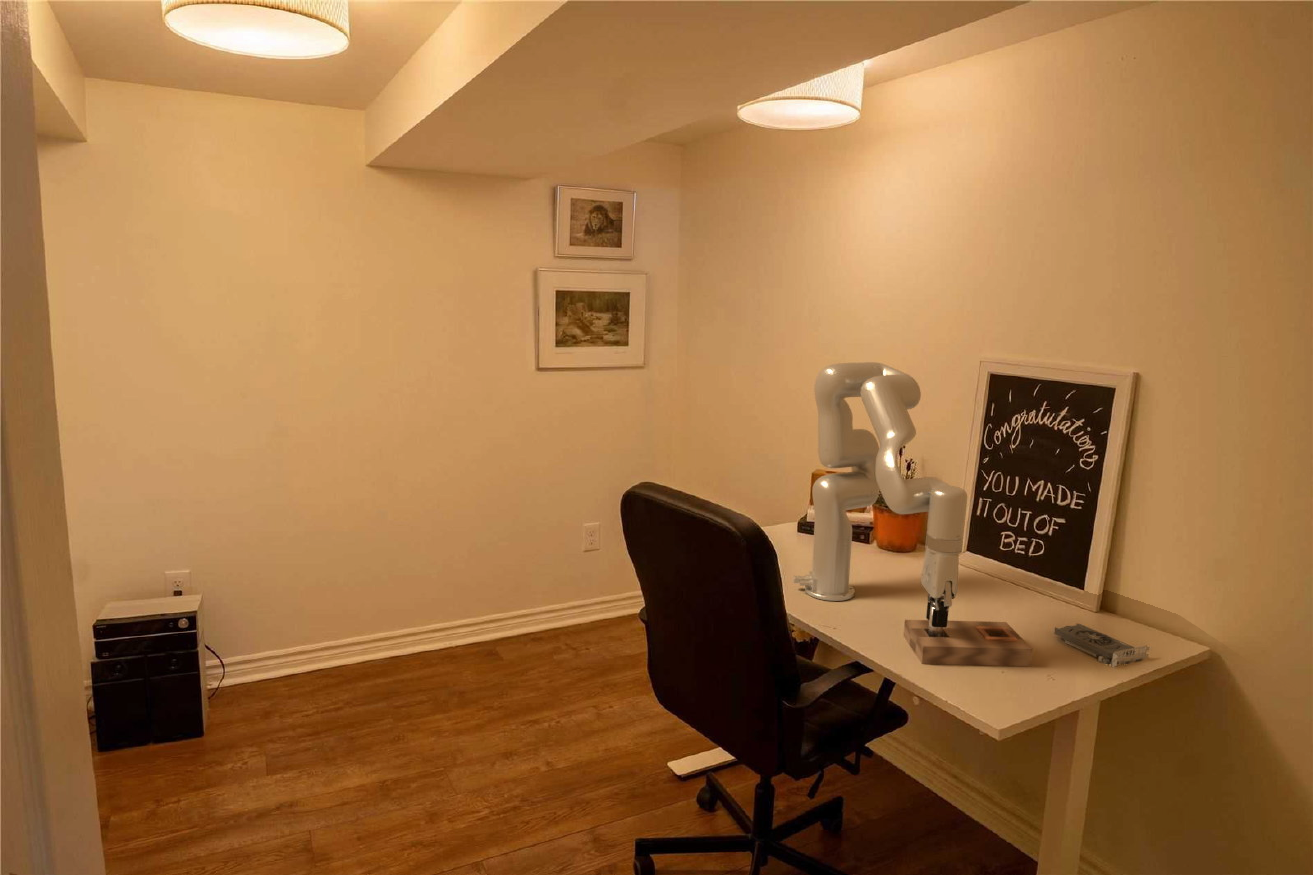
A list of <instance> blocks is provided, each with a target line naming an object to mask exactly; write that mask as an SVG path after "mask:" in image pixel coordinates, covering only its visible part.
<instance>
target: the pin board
mask: <svg viewBox="0 0 1313 875" xmlns="http://www.w3.org/2000/svg"><path fill="white" fill-rule="evenodd" d="M903 627H904V628H903V637H904V639H905V640H906V642H907V643H908V645H909V647H910V648H911V650H912V651H913V653H914V654H915V655H916V658H917V659H918V660H919V661H920V663H921V665H949V666H951V665H952V666H953V665H956V666H960V665H961V666H989V667H992V666H993V667H995V666H996V667H998V666H1002V667H1029V668H1031V666H1032V659H1033V658H1032V657H1033V648H1032V647H1031V646H1030V645H1029V643H1027V642H1026V640H1024V638H1022V636H1020V634H1019V633H1018V632H1017V631H1016V630H1015V629H1013V627H1012V626H1011V625H1009V623H1008V622H1007V621H985V620H984V621H982V620H980V621H979V620H978V621H977V620H976V621H975V620H948V621H947V627H943V635H942V637H929V635H928V629H929V620H927V619H904V626H903Z"/></svg>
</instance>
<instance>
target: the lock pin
mask: <svg viewBox="0 0 1313 875" xmlns="http://www.w3.org/2000/svg"><path fill="white" fill-rule="evenodd" d="M941 601H943V600H939V603H940V602H941ZM933 609H935V599H933V600H931V608H930V619H929V629H928V635H929V637H942V635H943V627H933V626H932V614H933Z"/></svg>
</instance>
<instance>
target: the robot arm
mask: <svg viewBox="0 0 1313 875" xmlns="http://www.w3.org/2000/svg"><path fill="white" fill-rule="evenodd" d="M921 394H922V393H921V388H920V386H919V384H918V382H917V380H916V378H914V377H913V376H911V375H910V374H908V373H906V372H904V371H901V370H899V369H896V368H894V367H891V366H889V365H887V364H885V363H880V362H875V361H874V362H873V361H869V362H843V363H842V362H841V363H840V362H839V363H834V364H830V365H828V366H827V365H826V366H825V367H823V368H822V369H821V370H820V371H819V372H818V373H817V376H816V379H815V381H814V398H815V403H816V408H817V434H818V435H817V445H818V448H817V449H818V451H817V452H818V458H819V459H818V460H819V462H820V464H821V465H822V466H823V467H825V468H829V469H844V468H845V469H846V468H851V471H849V472H848V471H847V472H846V471H845V472H844V471H843V472H835V473H827V474H825V475H822V476H820V477H818V478H817V479H816V480H815V482H814V483H813V485H812V488H811V489H812V491H811V492H812V495H811V496H812V500H813V509H814V510H813V511H814V527H813V546H812V547H813V548H812V563H811V564H812V565H811V571H809V572H808V574H805V576H803V575H793V577H792V578H793V579H792V581H793V582H792V583H793V584H799V586H801V587H803V586H804V592H805V593H806V594H807V595H809V596H810V597H813V598H815V599H818V600H823V601H829V602H831V601H832V602H840V601H842V602H843V601H848V600H850V599H852V598H853V597H854V596H855V592H856V591H855V589H854V587H853V586H851V585H850V574H851V573H850V571H851V570H850V569H851V559H852V557H851V556H852V542H853V541H852V539H853V526H852V522H851V520H850V519H849V517H848V514H847V511H850V510H855V509H862V508H868V507H871V506H873V505H874V504H875V503H876V502H877V500H878V498H879V493H881V497H882V498H883V501H884V502H885V504H886V506H887V507H888V508H889V509H890V510H891V511H892V512H894V513H895V514H897V515H910V514H918V513H928V514H927V515H928V516H927V526H926V537H925V545H924V547H925V553H924V557H923V565H922V570H921V571H922V572H921V578H920V582H921V585H922V587H923V588H924V590H926V592H927V606H926V617H925V618H926V620H929V619H930V608H931V600H933V599H935V609H933V614H932V626H933V627H947V621H949V620H948V618H949V611H950V608H951V607H953V599H955V598H956V596H957V593H958V583H959V555H961V554H962V552H963V545H964V535H965V526H966V525H965V524H966V514H967V507H968V506H967V504H968V493H967V491H966V490H965V489H963V488H961V487H959V486H956V485H955V486H954V485H950V484H948V483H946V482H945V481H943V480H941V479H939V478H938V477H933V476H926V477H916V478H909V479H908V478H907V479H904V477H903V475H902V473H901V470H900V468H899V464H898V455H899V454H898V453H899V451H900V449H901V448H903V447H904V446H905V445H907V444H909V443H910V442H911V441H912V440H914V438H915V437H916V435H917V429H916V427H915V425H914V422H913V420H912V418H911V416H910V414H909V411H908V410H912V409H915V407H917V406H918V405H919V403H920V401H921V396H922V395H921ZM846 398H860V399H861V401H862V404H863V405H864V408H865V410H866V413H867V416H868V418H869V420H870V423H871V425H872V428H873V430H874V432H875V435H876V436H875V435H874V434H873V432H871V431H870V430H868V429H863V428H856V429H854V427H853V426H854V425H853V412H852V409H851V408H850V405H849V403H848V402H847V400H846ZM876 437H877V438H876ZM939 600H942V601H941V602H940V603H939Z"/></svg>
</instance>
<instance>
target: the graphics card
mask: <svg viewBox="0 0 1313 875" xmlns="http://www.w3.org/2000/svg"><path fill="white" fill-rule="evenodd" d="M1053 634H1054V635H1056V636H1059V637H1060V638H1061V640H1064V643H1066V644H1068V645H1070V646H1072V647H1074V648H1076V649H1079V650H1080V651H1083V652H1085V653H1087V654H1089V655H1091V656H1093V657H1096V658H1098V659H1097V660H1098V661H1097V662H1099V663H1101V664H1104V665H1105V664H1111V666H1109V665H1108V667H1111V668H1114V669H1115V668H1116V667H1117V666H1118V665H1117V664H1119V665H1124V664H1125V666H1126V664H1127V665H1130V664H1131V662H1133V663H1138V662H1142V661H1143V660H1144V659H1147V658H1149V654H1150V653H1147V652H1148V651H1150V646H1148V645H1147V644H1146V645H1141V646H1136V647H1135V646H1133V645H1131V644H1130V645H1129V644H1128V643H1126V642H1123V641H1120V640H1119V639H1116V638H1114V637H1111V636H1110V635H1107V634H1105V633H1103V632H1100V631H1097V630H1095V629H1093V628H1090V627H1088V626H1086V625H1083V624H1081V623H1076V625H1065V626H1062V627H1060V628H1058V627H1056V626H1055V627H1054V631H1053Z"/></svg>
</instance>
